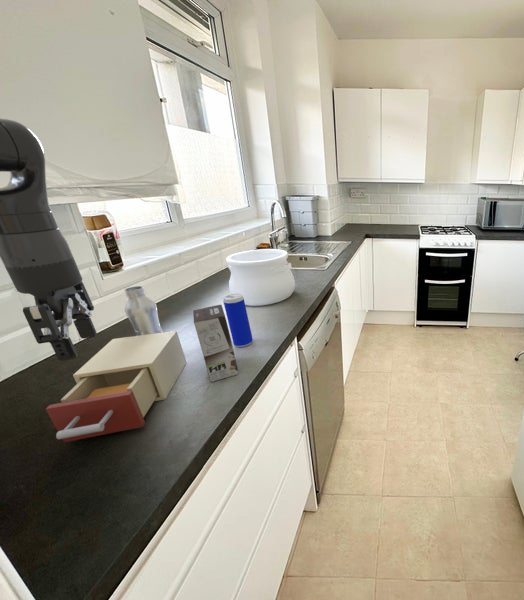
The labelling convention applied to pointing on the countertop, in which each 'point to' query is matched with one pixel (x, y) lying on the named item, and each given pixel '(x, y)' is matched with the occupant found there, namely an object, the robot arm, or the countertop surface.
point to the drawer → (104, 405)
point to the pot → (261, 276)
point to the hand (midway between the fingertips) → (80, 347)
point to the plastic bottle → (142, 312)
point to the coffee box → (215, 342)
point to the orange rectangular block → (109, 390)
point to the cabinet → (140, 359)
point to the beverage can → (238, 320)
